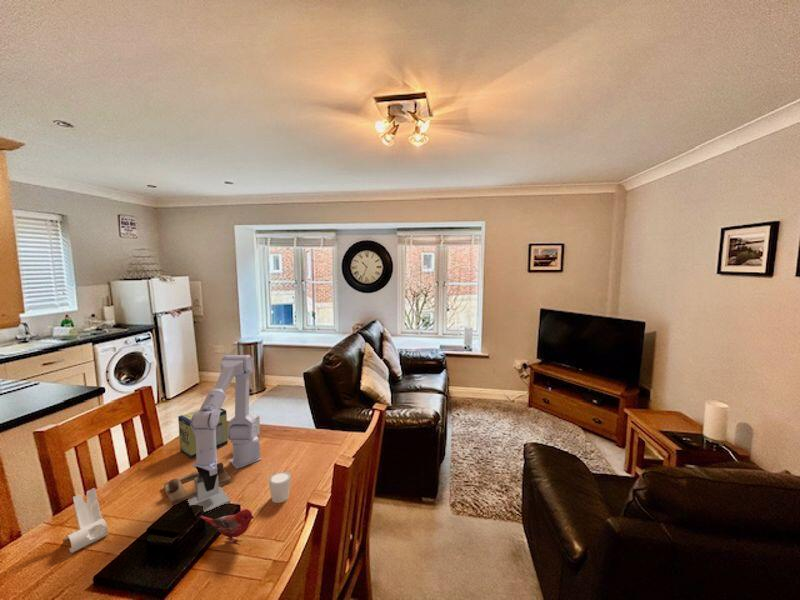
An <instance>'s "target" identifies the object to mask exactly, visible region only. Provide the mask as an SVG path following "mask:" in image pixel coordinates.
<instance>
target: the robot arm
mask: <svg viewBox="0 0 800 600" xmlns="http://www.w3.org/2000/svg"><path fill="white" fill-rule="evenodd" d="M253 373H254V359H253V357H252V356H251V355H250V354H224V356H223V357H222V358H221V361H220V374H219V376H218V379H217V381H216V384H215V387H214V388H213V389H211V390H209V392H207V395H206V396H205V398H204V401H203V402H202V405H201V406H200V408H199V409H198V410H199V411H198V412H195V413H194V414H193V416H192V419H191V423H190V426H191V428H192V429H193V434H194V435H195V437H196V457H195V459H196V461H194V462H192V468H196V470H197V471H198V473H199V475H200V476H201V477H202V478H203V481H204V485H205V489H206V491H207V492H208V491H210V490H213V489H214V486H215V482H216V478H217V475H218V473H219V472H220V467H219V466H218V467H217V464H218V459H219V458H218V454H217V453H218V452H217V451H218V450H217V449H218V448H216V426H217V424H218V422H219V416H220V409H221V408H222V407H223V404H224V402H225V401H226V397H227V395H226V393H225V392H226V391H227V390H228V387H229V386H230V384H231V383H232V381H233V379H234V378H235V387H234V388H235V390H234V392H235V395H234V401H235V402H234V417H232V419H230V420H229V422H228V424H227V437H228V441H230V443H231V444H232V457H233V458H232V459H229V462H230V463H231V465H232V466H233V467H234V468H235V469H236V470H237V469H240V468H243V467H245V466H248V465H251V464H253V463H256V462H258V461H261V459H262V458H261V450H260V449H261V448H260V447H261V445H260V441H259V439H258V437H257V436H256V434H257V425H256V419H255V418H253V417H252V416H250V415H251V414H250V375H252V374H253Z"/></svg>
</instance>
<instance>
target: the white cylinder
mask: <svg viewBox="0 0 800 600" xmlns="http://www.w3.org/2000/svg"><path fill="white" fill-rule="evenodd" d="M268 483H269V484H268V485H269V490H270V491H269V492H270V498H271V499H270V500H271V501H272V503H274V504H280V503H283V502H286V501H287V500H288V499H289V497H290V488H291V487H290V486H291V474H290V472H287V471H280V472H276V473H273V474H272V475H271V476H270V477H269V479H268Z"/></svg>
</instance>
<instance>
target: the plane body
mask: <svg viewBox="0 0 800 600" xmlns="http://www.w3.org/2000/svg"><path fill="white" fill-rule="evenodd" d="M218 466H219V467H220V472H219V473H218V484H219V487H222V486H225V485H227V484H229V483H231V482H232V477H231V476H230V475H229V473H228V472H227V471H226V469H225V468H224V464H223V462H219V463H217V467H218ZM199 476H200V475H199V473H198V470H197V471H194V472H192V473H189V474H185V475H184V476H180V477H178V478H173V479H171V480H169V481H167V482H164V483H163V489H164V492H165V493H166V495H167V498H168V500H169V502H170V504H171V507H172V506H176V505H178V504H180V503H182V502H181V501H183V500H185V499H188V500H189V499H191V498H193V497H195V489H193V490H191V491H186V489H185V487H184V485H183V484H184V483H185V482H188V481H191V480H194V478H196V477H199ZM185 501H186V500H185ZM183 502H184V501H183Z"/></svg>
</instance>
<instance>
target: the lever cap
mask: <svg viewBox="0 0 800 600" xmlns="http://www.w3.org/2000/svg"><path fill="white" fill-rule="evenodd" d="M193 486H194V490H195V497H196V499H197V500H198V502H199V501H201V500H204V499H206V498H208V497H211V496H213V495H215V494H218V493H219V484H218V475H217V478H216V482H215V486H214V489H213V490H210V491H208V492H207V491H206V489H205V485H204V481H203V478H202V477H201V476H199V477H196V478H194V479H193Z"/></svg>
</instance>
